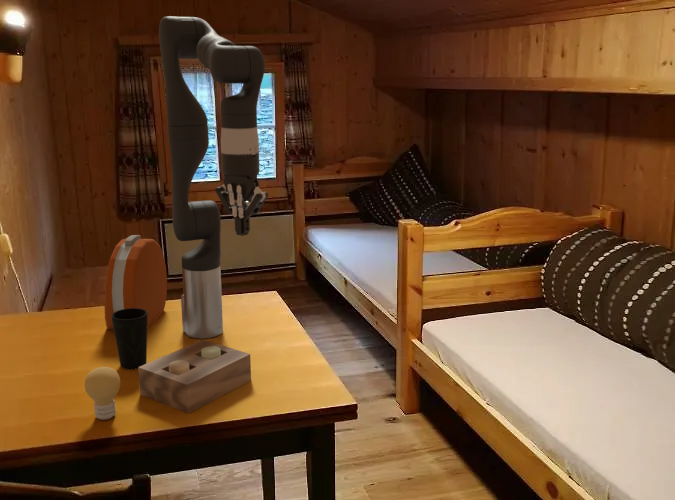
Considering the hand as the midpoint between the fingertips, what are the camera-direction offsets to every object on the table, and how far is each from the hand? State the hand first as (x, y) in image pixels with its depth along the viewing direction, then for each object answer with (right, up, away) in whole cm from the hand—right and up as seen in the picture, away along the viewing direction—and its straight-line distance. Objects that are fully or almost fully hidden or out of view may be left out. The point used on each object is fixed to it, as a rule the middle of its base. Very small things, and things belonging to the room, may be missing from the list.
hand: (242, 234), depth 145 cm
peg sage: (-7, -31, +6) cm, 32 cm away
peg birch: (-12, -33, -1) cm, 35 cm away
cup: (-26, -29, +13) cm, 41 cm away
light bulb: (-25, -35, -10) cm, 44 cm away
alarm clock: (-33, -22, +40) cm, 57 cm away
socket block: (-10, -32, +2) cm, 33 cm away
